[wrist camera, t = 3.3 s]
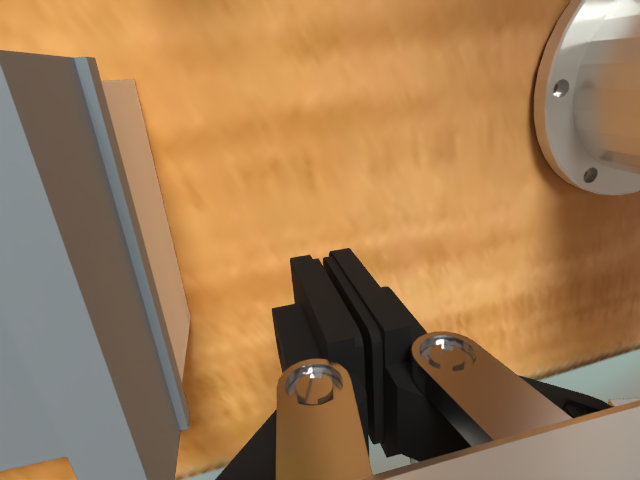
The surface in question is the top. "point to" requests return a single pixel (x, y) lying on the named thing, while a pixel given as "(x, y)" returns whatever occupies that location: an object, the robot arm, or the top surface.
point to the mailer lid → (77, 287)
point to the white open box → (149, 209)
